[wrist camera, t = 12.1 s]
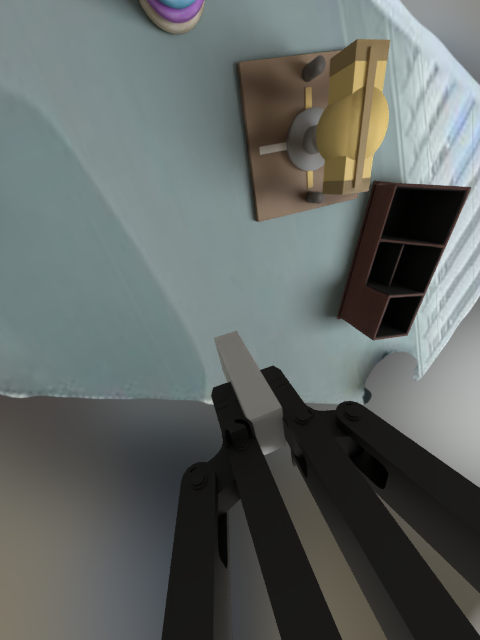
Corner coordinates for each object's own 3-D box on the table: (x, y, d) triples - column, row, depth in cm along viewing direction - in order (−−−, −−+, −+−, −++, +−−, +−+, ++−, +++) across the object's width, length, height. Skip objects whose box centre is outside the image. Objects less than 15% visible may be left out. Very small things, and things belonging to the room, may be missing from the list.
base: (237, 65, 33) (259, 32, 26) (363, 50, 37) (412, 18, 30) (256, 221, 43) (276, 227, 36) (354, 197, 47) (389, 199, 40)
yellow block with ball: (354, 189, 37) (379, 189, 33) (313, 195, 36) (334, 196, 32) (369, 58, 30) (403, 38, 26) (319, 58, 29) (347, 37, 25)
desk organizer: (335, 318, 60) (370, 342, 51) (372, 180, 47) (429, 178, 37) (370, 315, 63) (408, 337, 54) (413, 185, 50) (475, 184, 40)
